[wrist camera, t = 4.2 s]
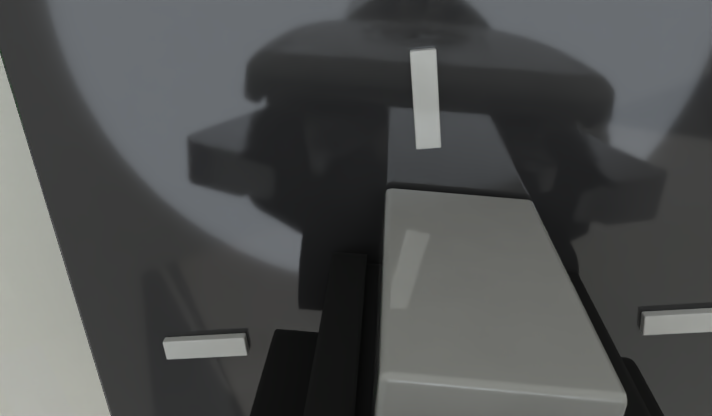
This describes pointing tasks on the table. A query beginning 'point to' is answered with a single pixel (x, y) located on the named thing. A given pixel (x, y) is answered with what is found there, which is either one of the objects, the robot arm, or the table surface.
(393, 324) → the hob knob
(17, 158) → the table surface
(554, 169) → the panel
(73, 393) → the table surface
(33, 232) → the table surface
